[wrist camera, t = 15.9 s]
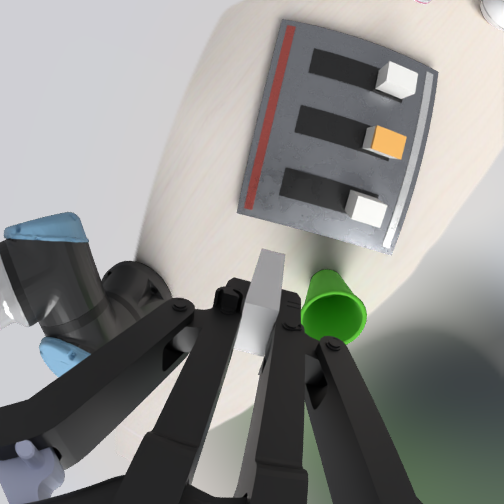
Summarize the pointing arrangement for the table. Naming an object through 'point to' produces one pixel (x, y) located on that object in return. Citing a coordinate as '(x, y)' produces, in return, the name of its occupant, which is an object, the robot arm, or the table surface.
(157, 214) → the table surface
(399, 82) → the block
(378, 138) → the block
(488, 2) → the white oval ovoid
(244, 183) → the panel
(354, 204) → the block
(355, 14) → the table surface
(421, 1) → the pill bottle
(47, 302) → the robot arm
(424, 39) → the table surface
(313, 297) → the cup
